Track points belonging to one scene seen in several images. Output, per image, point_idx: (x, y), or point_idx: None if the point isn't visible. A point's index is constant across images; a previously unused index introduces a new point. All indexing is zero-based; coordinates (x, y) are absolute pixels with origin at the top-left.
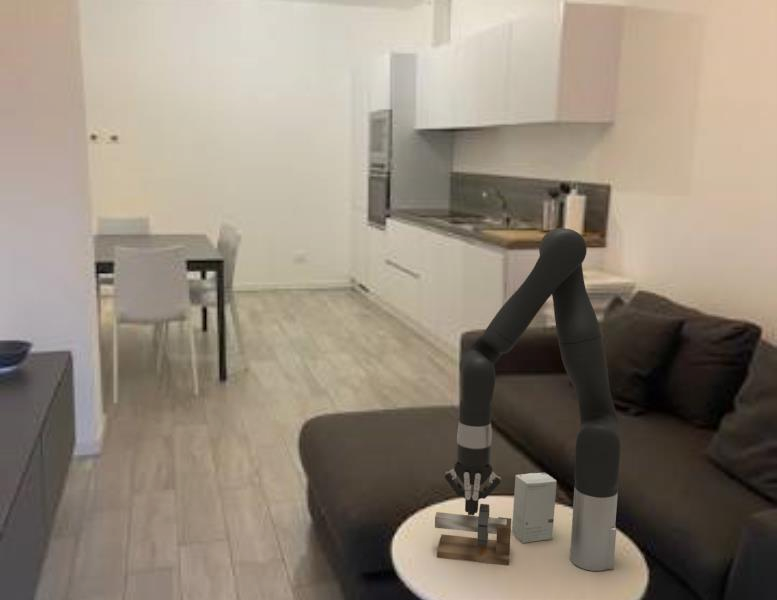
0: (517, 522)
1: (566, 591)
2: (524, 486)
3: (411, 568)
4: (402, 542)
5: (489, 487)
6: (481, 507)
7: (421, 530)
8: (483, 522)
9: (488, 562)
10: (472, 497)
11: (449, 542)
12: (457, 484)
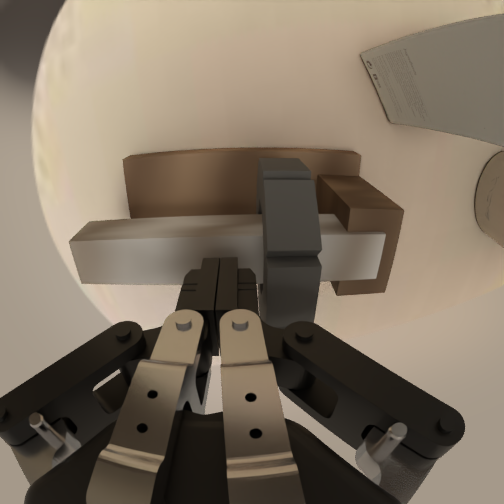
0: (400, 85)
1: (430, 310)
2: None
3: (111, 307)
4: (47, 203)
5: (344, 434)
6: (276, 308)
7: (66, 117)
8: None
9: None
10: (217, 323)
11: (159, 205)
12: (104, 411)
